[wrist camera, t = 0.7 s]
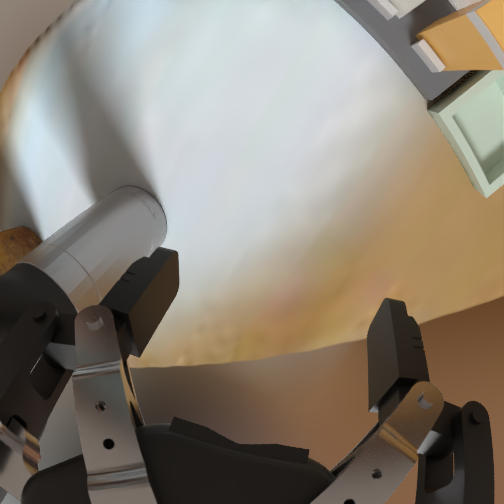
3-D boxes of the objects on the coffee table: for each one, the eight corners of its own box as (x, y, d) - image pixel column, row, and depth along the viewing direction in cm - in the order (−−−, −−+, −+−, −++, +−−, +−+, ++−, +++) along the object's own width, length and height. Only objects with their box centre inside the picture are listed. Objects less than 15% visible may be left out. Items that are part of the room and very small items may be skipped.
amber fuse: (442, 71, 19) (516, 71, 9) (414, 35, 18) (475, 10, 8) (463, 55, 18) (540, 50, 8) (436, 20, 17) (503, -8, 7)
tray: (474, 188, 26) (486, 198, 23) (427, 110, 23) (438, 113, 21) (528, 140, 21) (543, 147, 18) (488, 62, 18) (502, 61, 16)
